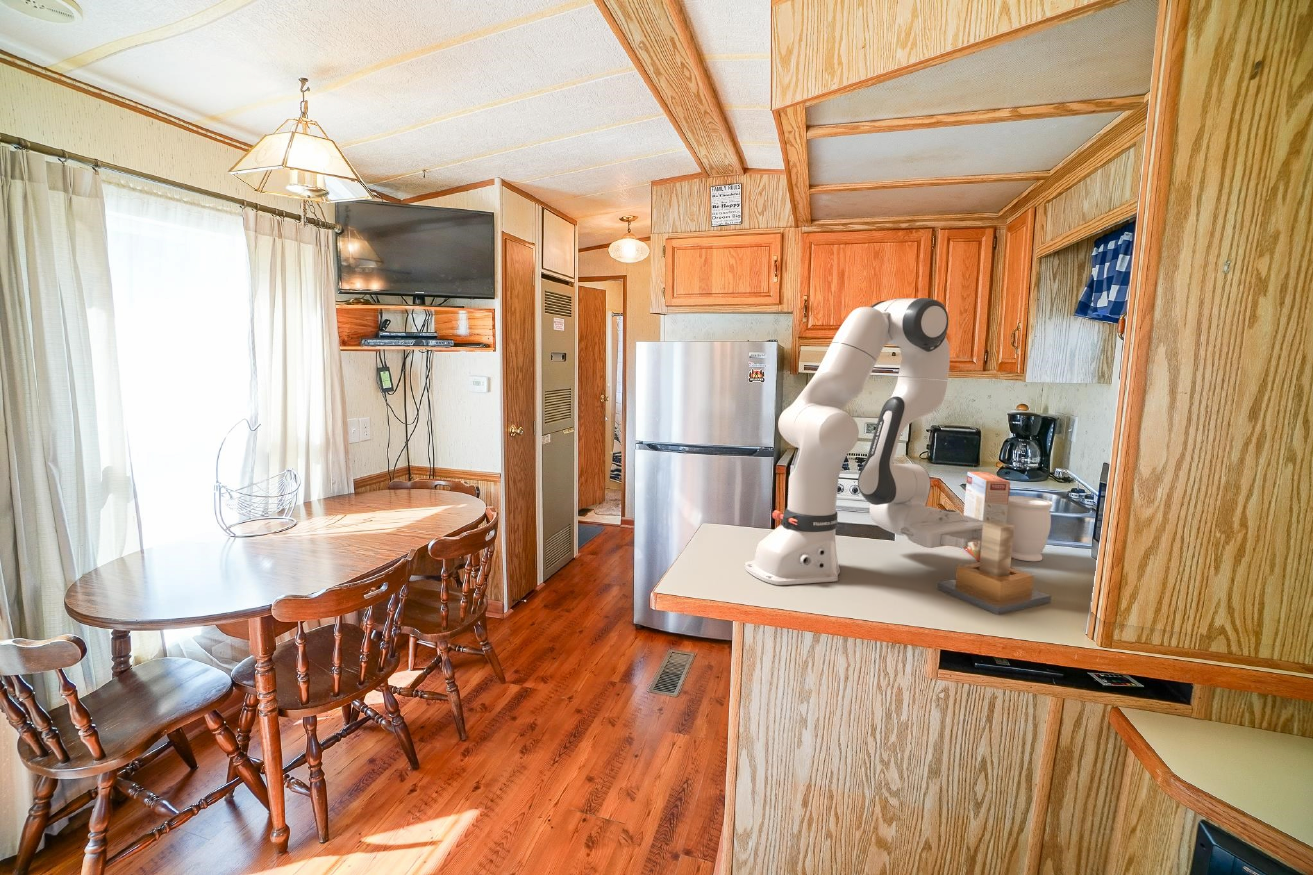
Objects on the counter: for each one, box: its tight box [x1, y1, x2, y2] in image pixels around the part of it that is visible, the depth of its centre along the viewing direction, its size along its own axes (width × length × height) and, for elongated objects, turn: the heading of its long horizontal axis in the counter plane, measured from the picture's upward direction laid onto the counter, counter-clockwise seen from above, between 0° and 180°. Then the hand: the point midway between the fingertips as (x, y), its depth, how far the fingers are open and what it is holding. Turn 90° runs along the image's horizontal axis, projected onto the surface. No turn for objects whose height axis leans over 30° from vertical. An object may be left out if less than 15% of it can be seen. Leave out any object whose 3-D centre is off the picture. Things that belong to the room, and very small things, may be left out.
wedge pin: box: [979, 522, 1014, 577], centre depth 121 cm, size 4×4×14 cm
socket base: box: [936, 561, 1052, 615], centre depth 122 cm, size 16×14×6 cm
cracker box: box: [963, 471, 1011, 562], centre depth 148 cm, size 14×6×21 cm, turn 168°
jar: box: [1006, 495, 1053, 562], centre depth 147 cm, size 11×10×15 cm
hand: (981, 542), depth 124 cm, fingers open, 8 cm apart
